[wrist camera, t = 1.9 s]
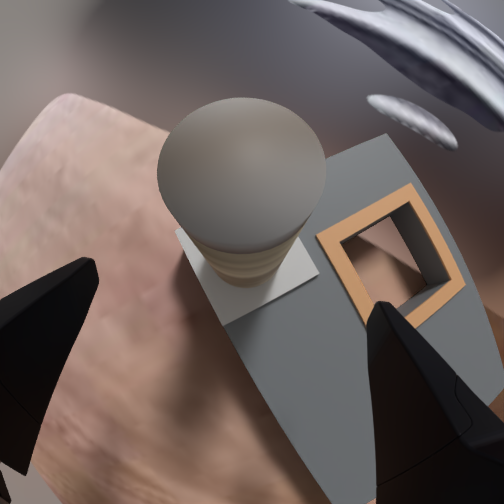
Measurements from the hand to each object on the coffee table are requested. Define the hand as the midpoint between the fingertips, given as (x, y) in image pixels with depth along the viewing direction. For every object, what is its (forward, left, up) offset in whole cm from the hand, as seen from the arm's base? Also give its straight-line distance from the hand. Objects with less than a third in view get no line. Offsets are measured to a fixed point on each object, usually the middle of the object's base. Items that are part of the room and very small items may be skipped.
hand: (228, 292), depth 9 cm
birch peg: (+2, -2, -7) cm, 8 cm away
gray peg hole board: (-6, -7, -11) cm, 14 cm away
